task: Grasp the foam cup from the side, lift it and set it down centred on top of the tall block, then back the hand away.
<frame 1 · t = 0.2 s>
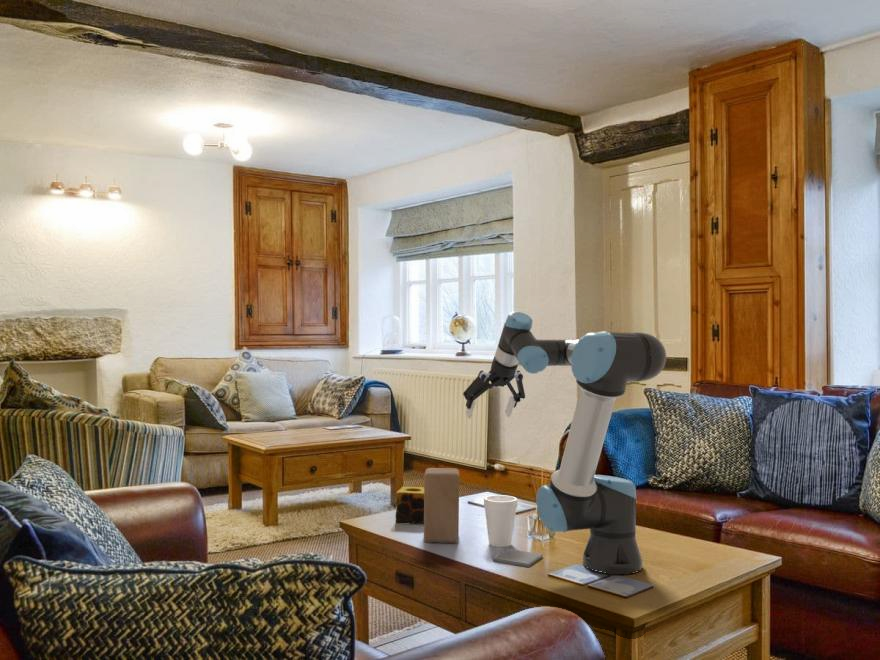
hand: (487, 415, 240), 35 cm above the table, tool tilted 35°, fingers open, 13 cm apart
foam cup: (500, 544, 221), on the table
giraffe print tissue box: (414, 521, 247), on the table
slate coaster: (518, 559, 207), on the table
block: (441, 539, 226), on the table
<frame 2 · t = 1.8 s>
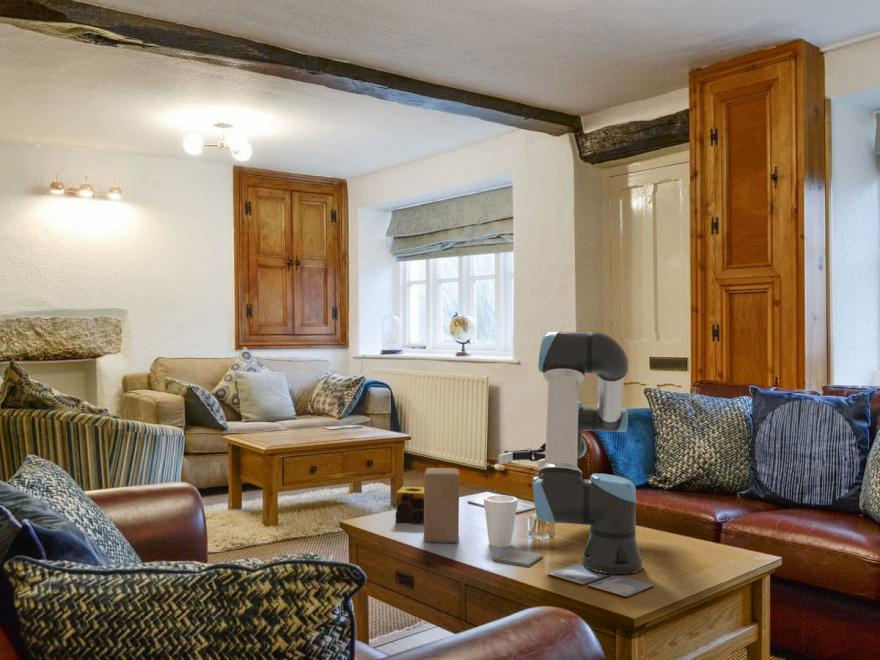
hand: (518, 462, 228), 22 cm above the table, tool horizontal, fingers open, 13 cm apart
nothing on the table moved.
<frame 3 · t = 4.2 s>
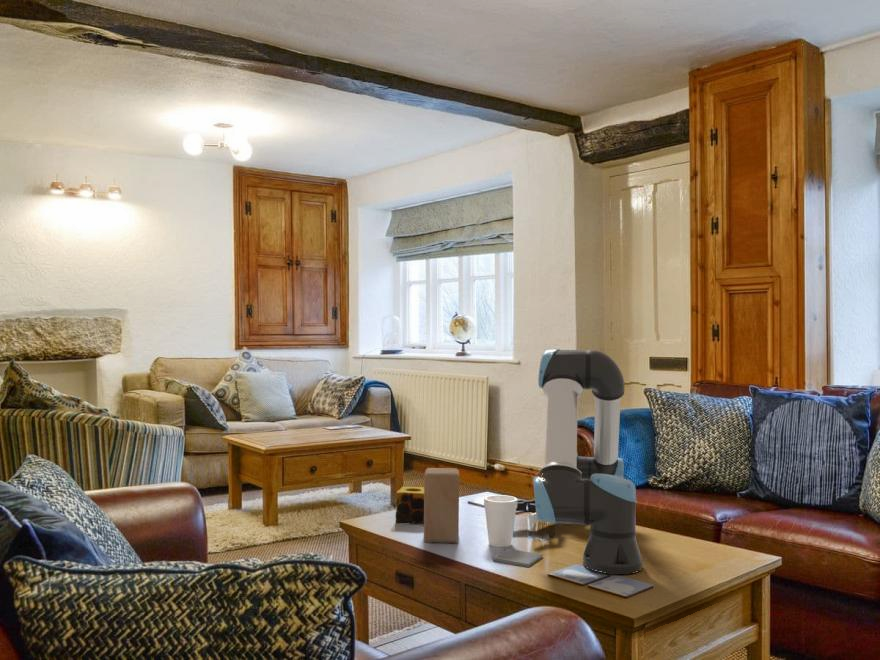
hand: (511, 515, 227), 7 cm above the table, tool horizontal, fingers open, 13 cm apart
nothing on the table moved.
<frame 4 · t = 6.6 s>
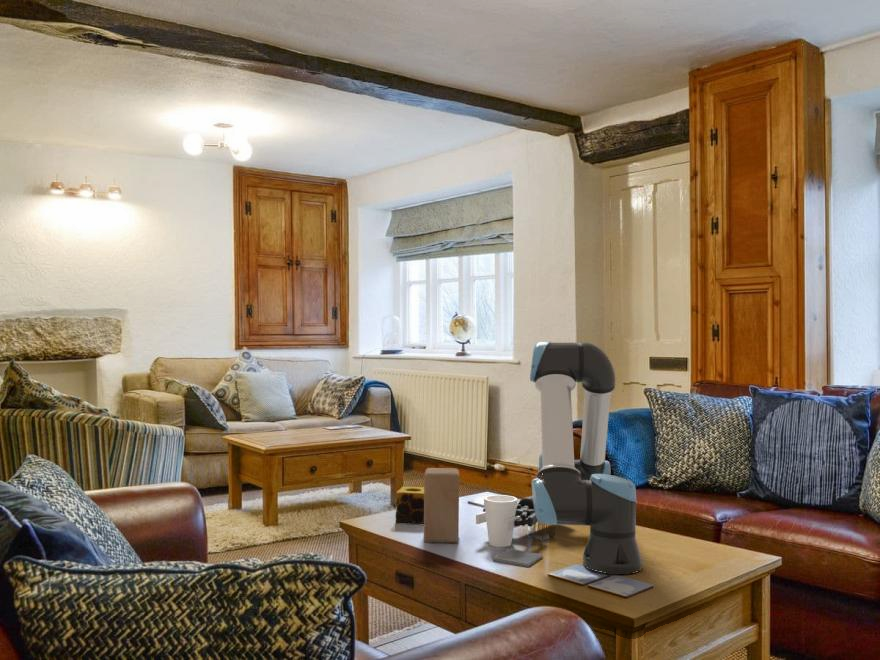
hand: (491, 522, 218), 7 cm above the table, tool horizontal, fingers closed on foam cup, 9 cm apart
foam cup: (500, 544, 221), on the table, touching gripper
everything else where it was.
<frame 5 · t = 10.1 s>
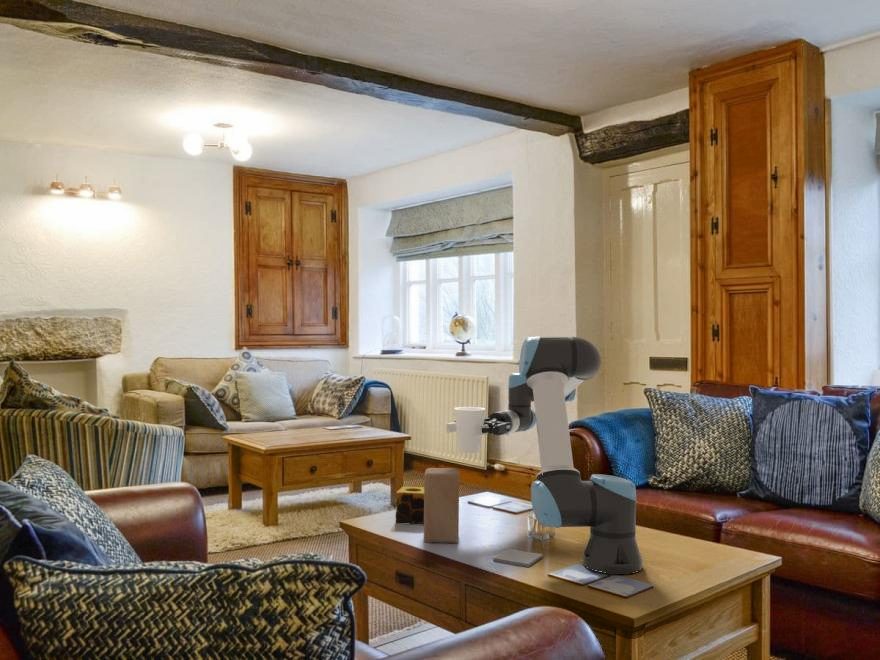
hand: (460, 429, 232), 31 cm above the table, tool horizontal, fingers closed on foam cup, 9 cm apart
foam cup: (469, 451, 236), point 24 cm above the table, touching gripper
everything else where it was.
when the fingers open (28 cm above the table, at t = 13.7 s): foam cup drops 1 cm, resting on block.
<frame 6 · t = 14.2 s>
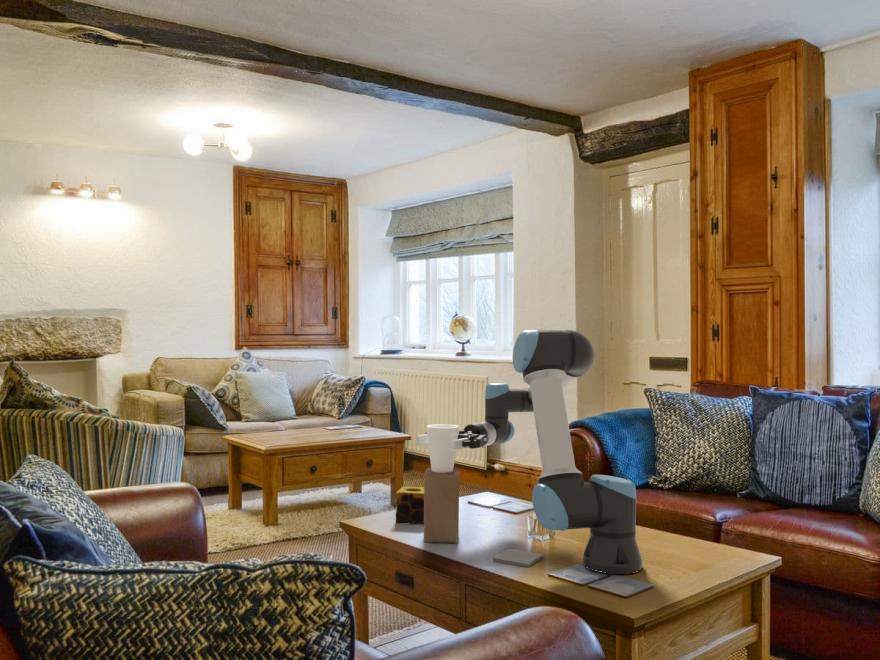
hand: (435, 442, 223), 28 cm above the table, tool horizontal, fingers open, 13 cm apart
foam cup: (442, 471, 226), point 20 cm above the table, touching block
block: (441, 539, 226), on the table, touching foam cup
everything else where it was.
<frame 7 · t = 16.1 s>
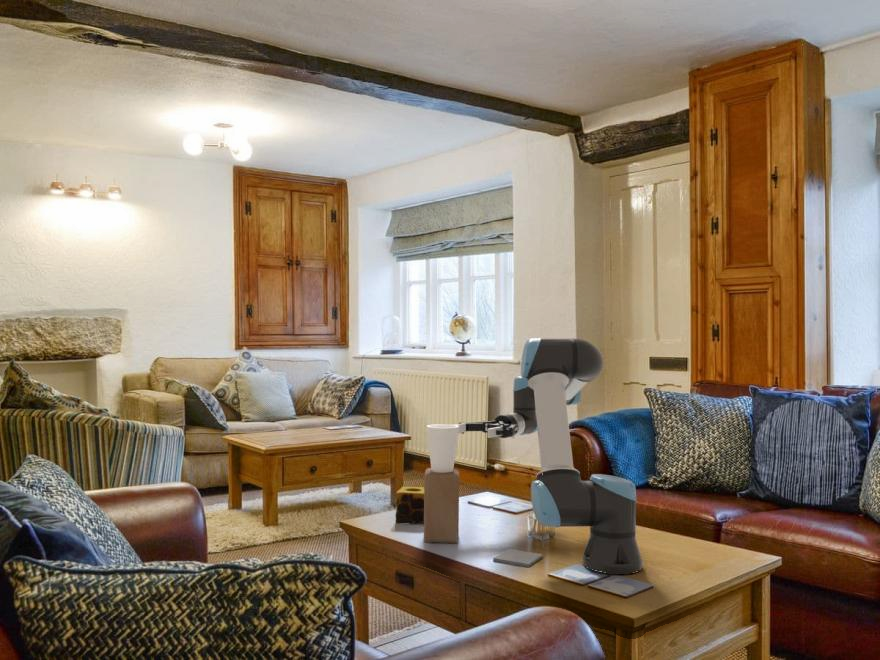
hand: (470, 431, 234), 30 cm above the table, tool horizontal, fingers open, 13 cm apart
nothing on the table moved.
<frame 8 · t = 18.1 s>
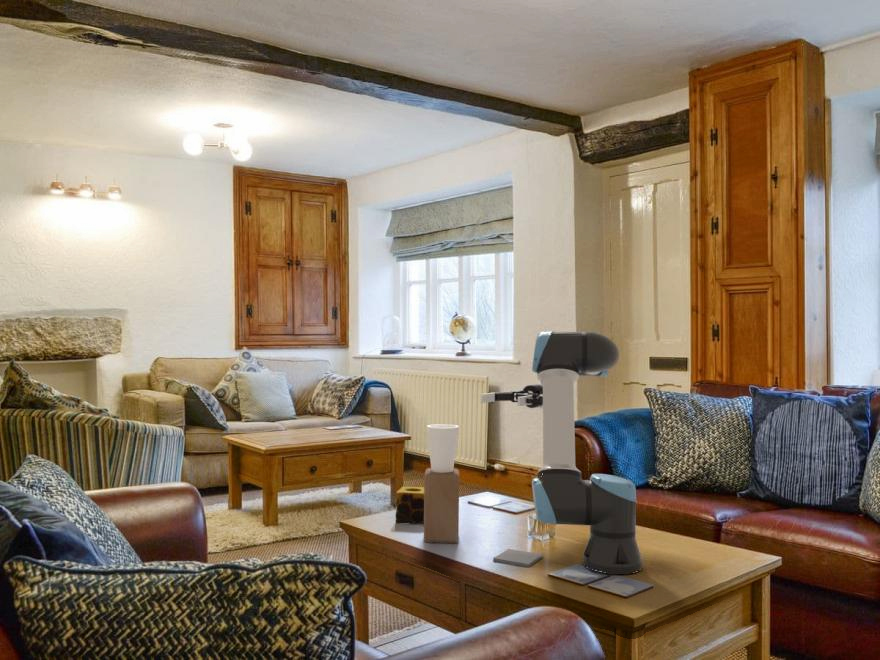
hand: (499, 400, 235), 40 cm above the table, tool horizontal, fingers open, 13 cm apart
nothing on the table moved.
at the end: foam cup inside the target area on the block (0.1 cm from its centre), point 20.0 cm above the block's base; foam cup tilted 0°; the gripper is holding nothing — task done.
